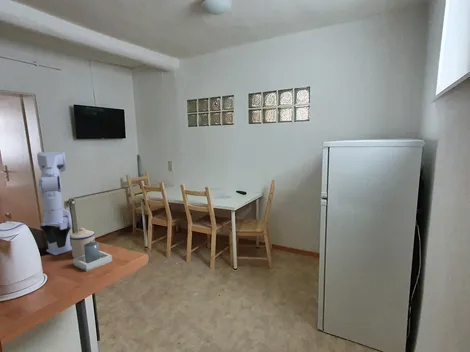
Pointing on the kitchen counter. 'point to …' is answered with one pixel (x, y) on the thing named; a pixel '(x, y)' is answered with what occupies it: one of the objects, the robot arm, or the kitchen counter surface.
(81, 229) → the teacup with lid
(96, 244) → the tumbler
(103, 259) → the tray
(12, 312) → the kitchen counter surface
